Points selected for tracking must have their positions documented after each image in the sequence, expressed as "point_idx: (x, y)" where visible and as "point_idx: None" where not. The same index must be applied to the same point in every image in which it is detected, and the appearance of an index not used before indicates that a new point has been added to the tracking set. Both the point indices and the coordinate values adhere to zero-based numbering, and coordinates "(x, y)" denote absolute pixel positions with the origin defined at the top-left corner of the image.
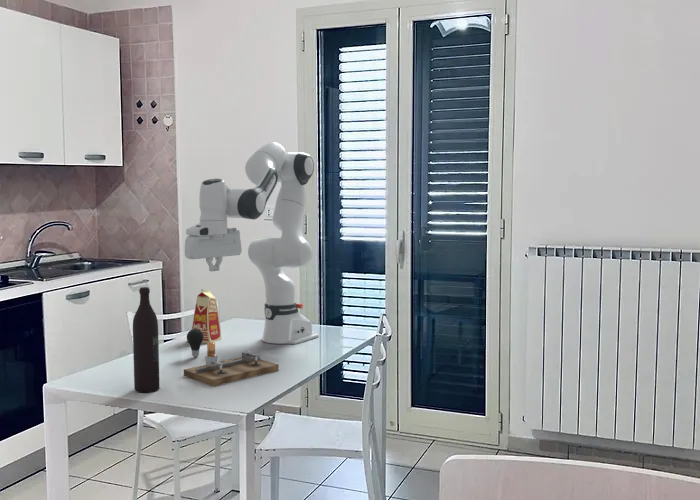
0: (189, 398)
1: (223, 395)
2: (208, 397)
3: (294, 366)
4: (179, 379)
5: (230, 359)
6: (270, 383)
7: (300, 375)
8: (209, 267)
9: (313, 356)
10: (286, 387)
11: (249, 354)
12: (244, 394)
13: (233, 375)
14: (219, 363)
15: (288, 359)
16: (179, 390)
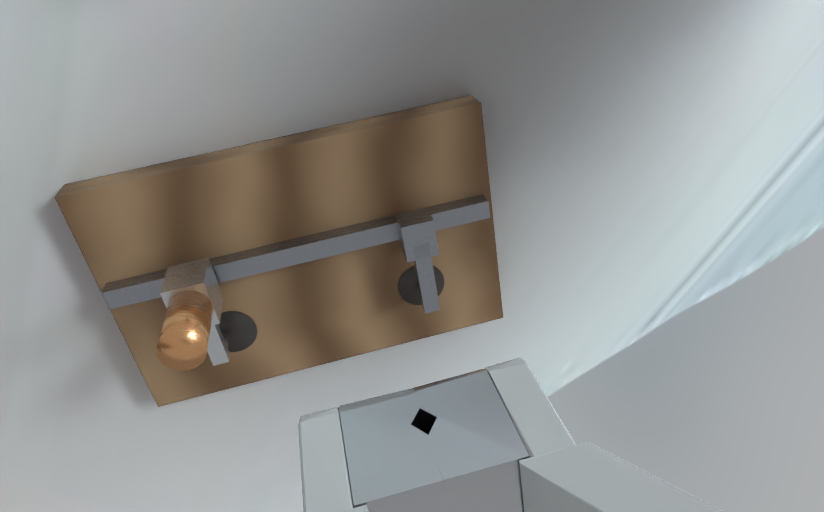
0: (30, 476)
1: (166, 485)
2: (106, 487)
3: (579, 278)
4: (31, 231)
5: (364, 130)
6: None
7: None
8: (308, 492)
9: (745, 176)
10: None
11: (417, 272)
12: (239, 498)
13: (263, 378)
14: (214, 359)
15: (637, 165)
16: (4, 381)
